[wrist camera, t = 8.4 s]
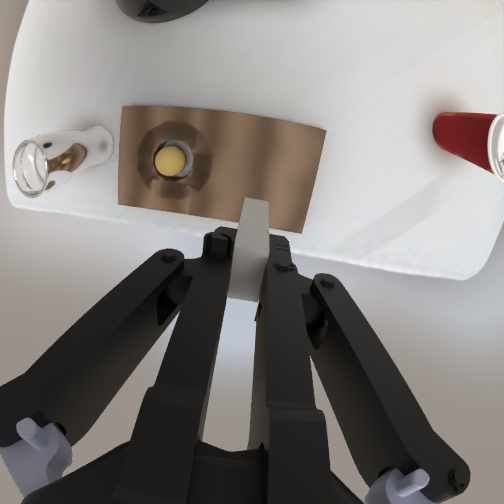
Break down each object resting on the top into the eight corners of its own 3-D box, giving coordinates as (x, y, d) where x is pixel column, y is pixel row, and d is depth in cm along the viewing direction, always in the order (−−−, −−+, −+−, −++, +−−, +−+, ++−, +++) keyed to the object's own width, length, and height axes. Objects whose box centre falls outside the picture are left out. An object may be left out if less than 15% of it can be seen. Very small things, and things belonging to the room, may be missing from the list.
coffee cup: (443, 167, 32) (508, 200, 19) (417, 123, 30) (486, 138, 17) (472, 139, 29) (538, 161, 16) (448, 95, 27) (518, 101, 13)
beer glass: (107, 114, 31) (36, 125, 18) (122, 156, 34) (56, 185, 21) (75, 135, 32) (5, 156, 19) (89, 174, 36) (24, 208, 22)
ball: (152, 156, 34) (146, 162, 30) (175, 137, 33) (170, 141, 30) (169, 177, 36) (165, 185, 32) (192, 160, 35) (190, 166, 32)
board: (125, 199, 37) (118, 204, 35) (131, 106, 31) (122, 106, 29) (299, 226, 38) (301, 233, 36) (322, 129, 32) (326, 130, 30)
